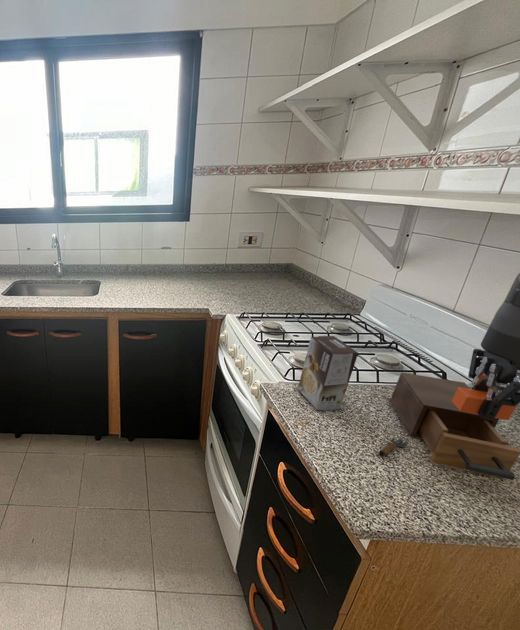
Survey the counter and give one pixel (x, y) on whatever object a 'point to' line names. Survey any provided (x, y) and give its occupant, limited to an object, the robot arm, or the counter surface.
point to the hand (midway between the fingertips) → (479, 409)
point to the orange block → (477, 402)
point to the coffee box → (326, 372)
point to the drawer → (467, 444)
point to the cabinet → (426, 399)
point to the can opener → (392, 446)
